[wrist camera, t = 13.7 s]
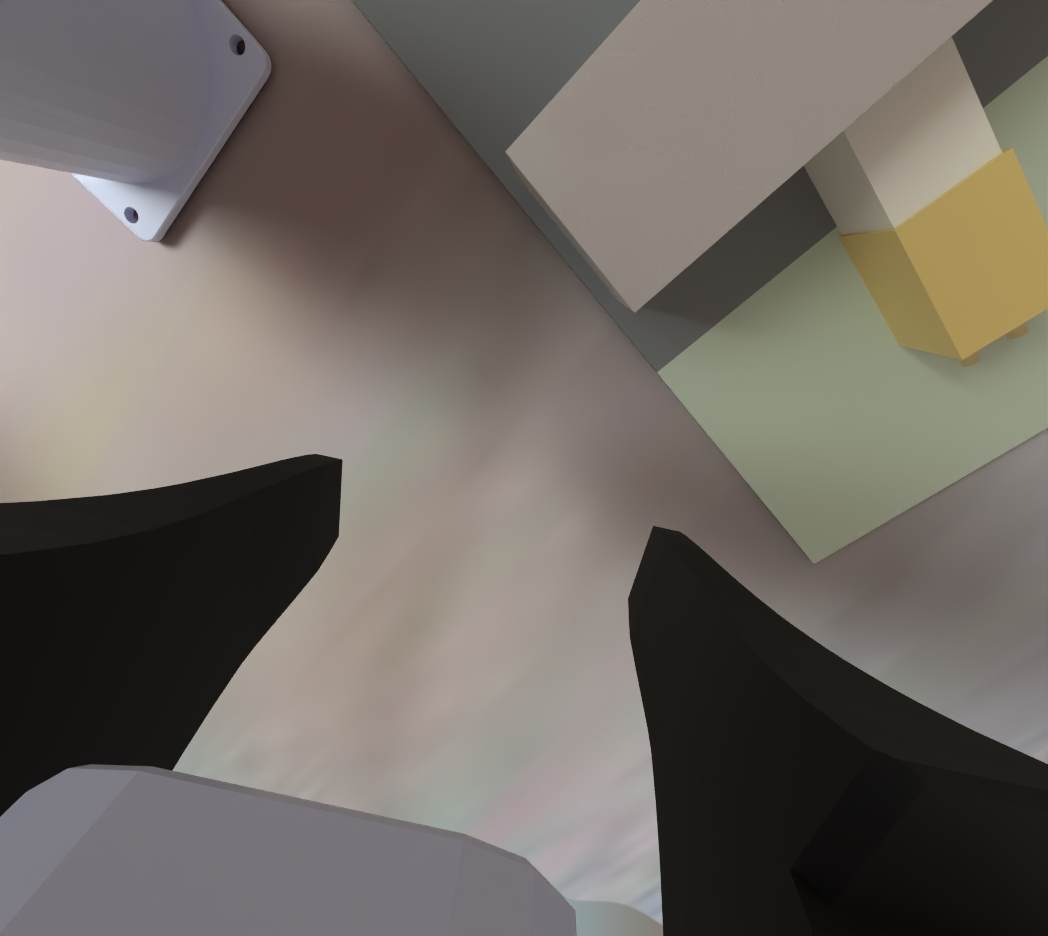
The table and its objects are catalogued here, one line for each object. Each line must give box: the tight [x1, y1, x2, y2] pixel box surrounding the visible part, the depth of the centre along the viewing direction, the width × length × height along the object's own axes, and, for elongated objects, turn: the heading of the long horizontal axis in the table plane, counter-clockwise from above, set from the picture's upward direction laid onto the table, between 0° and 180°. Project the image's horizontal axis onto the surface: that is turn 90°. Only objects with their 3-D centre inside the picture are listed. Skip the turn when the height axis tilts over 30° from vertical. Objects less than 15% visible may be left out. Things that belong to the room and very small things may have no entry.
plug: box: [804, 36, 1048, 367], centre depth 14 cm, size 16×3×3 cm, turn 39°
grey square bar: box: [506, 0, 993, 313], centre depth 12 cm, size 5×15×5 cm, turn 132°
